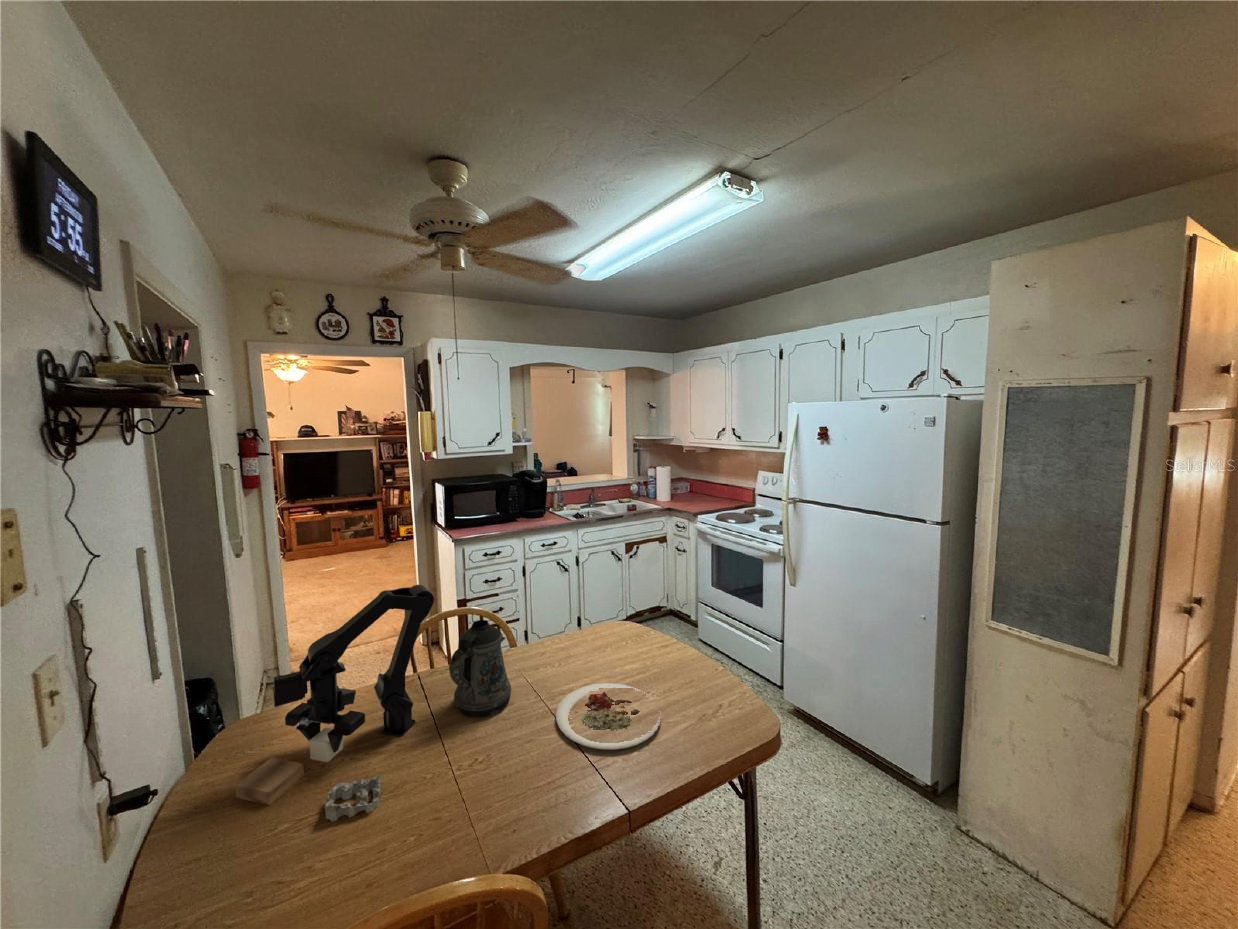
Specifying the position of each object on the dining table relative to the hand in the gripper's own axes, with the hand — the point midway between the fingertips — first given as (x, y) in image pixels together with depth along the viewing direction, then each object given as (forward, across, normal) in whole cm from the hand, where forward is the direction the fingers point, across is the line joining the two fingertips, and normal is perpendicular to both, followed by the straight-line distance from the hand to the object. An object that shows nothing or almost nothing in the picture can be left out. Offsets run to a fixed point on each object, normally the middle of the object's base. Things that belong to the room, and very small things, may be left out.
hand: (326, 749), depth 123 cm
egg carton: (+2, -18, +12) cm, 22 cm away
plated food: (+2, -66, -31) cm, 73 cm away
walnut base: (+1, +4, +12) cm, 13 cm away
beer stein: (+1, -28, -28) cm, 40 cm away
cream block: (+1, 0, 0) cm, 1 cm away
